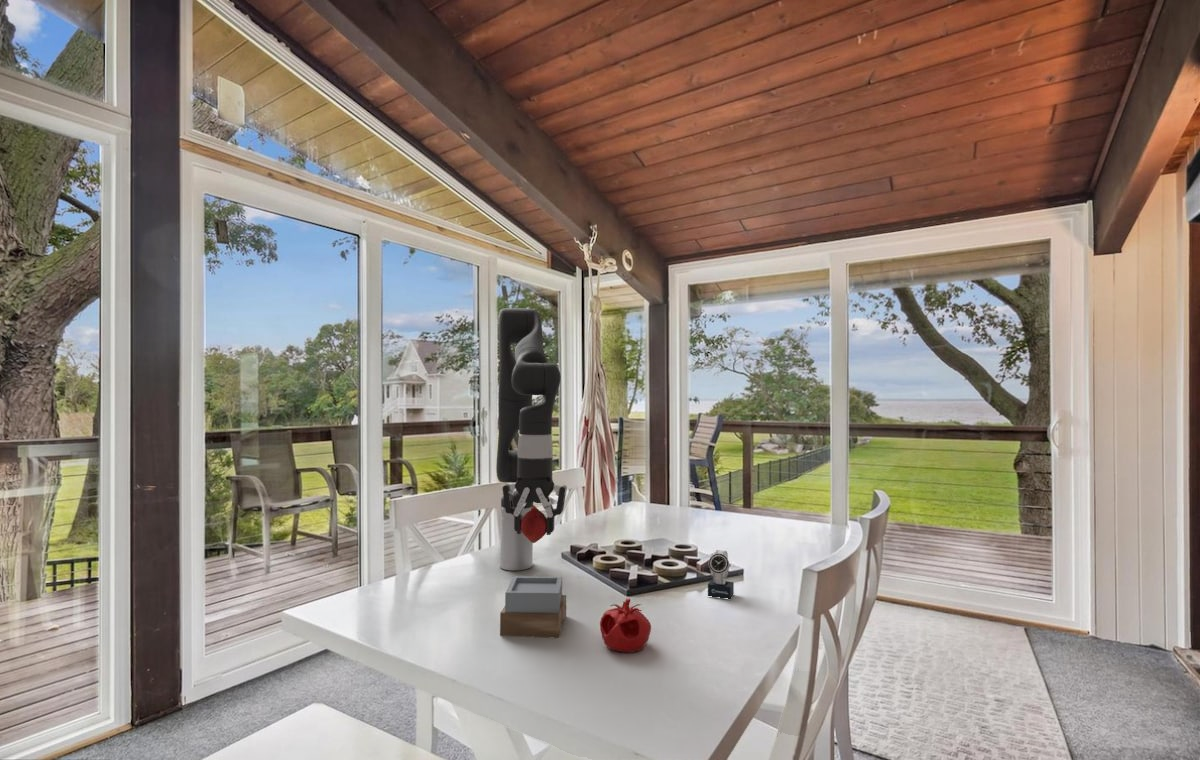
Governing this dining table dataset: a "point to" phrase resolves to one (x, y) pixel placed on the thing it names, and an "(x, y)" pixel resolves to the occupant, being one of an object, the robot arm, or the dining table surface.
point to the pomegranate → (625, 628)
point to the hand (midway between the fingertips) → (534, 533)
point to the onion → (534, 524)
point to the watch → (720, 576)
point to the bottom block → (533, 623)
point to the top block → (534, 594)
